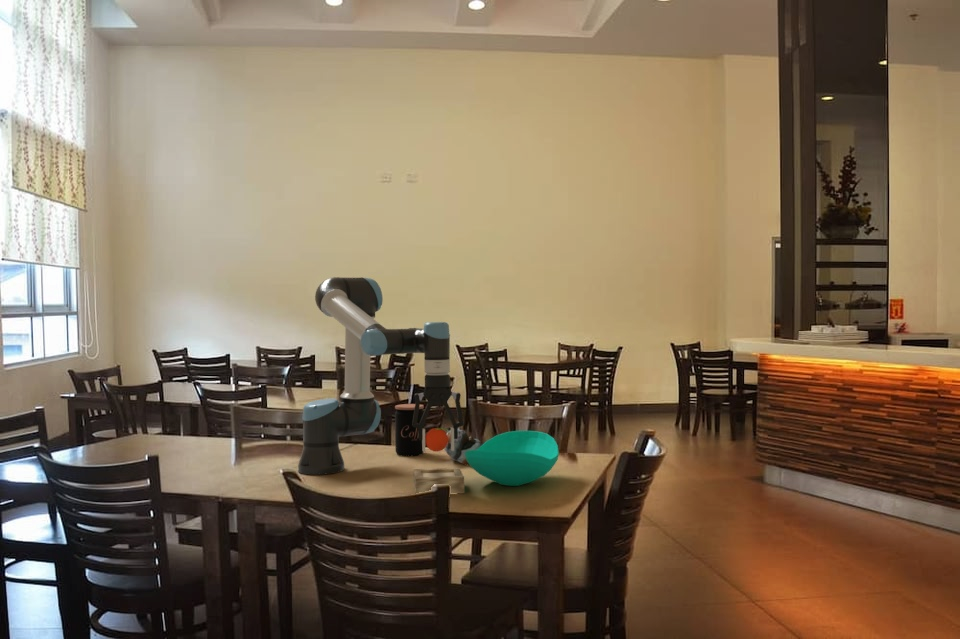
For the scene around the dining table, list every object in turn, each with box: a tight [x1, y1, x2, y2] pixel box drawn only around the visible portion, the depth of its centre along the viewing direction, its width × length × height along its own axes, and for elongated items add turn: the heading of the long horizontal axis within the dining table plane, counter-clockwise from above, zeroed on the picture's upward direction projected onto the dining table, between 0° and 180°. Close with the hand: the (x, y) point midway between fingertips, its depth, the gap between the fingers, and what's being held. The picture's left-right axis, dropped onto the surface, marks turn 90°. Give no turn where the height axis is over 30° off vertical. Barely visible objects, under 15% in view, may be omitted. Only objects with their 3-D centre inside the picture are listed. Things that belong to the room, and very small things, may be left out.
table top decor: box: [465, 430, 560, 487], centre depth 242 cm, size 40×28×13 cm
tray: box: [413, 467, 465, 494], centre depth 235 cm, size 14×14×5 cm
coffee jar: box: [394, 403, 425, 457], centre depth 293 cm, size 11×11×18 cm
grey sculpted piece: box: [443, 427, 484, 466], centre depth 277 cm, size 15×12×14 cm
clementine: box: [425, 427, 451, 452], centre depth 235 cm, size 8×7×7 cm
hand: (438, 450), depth 235 cm, fingers closed on clementine, 8 cm apart
